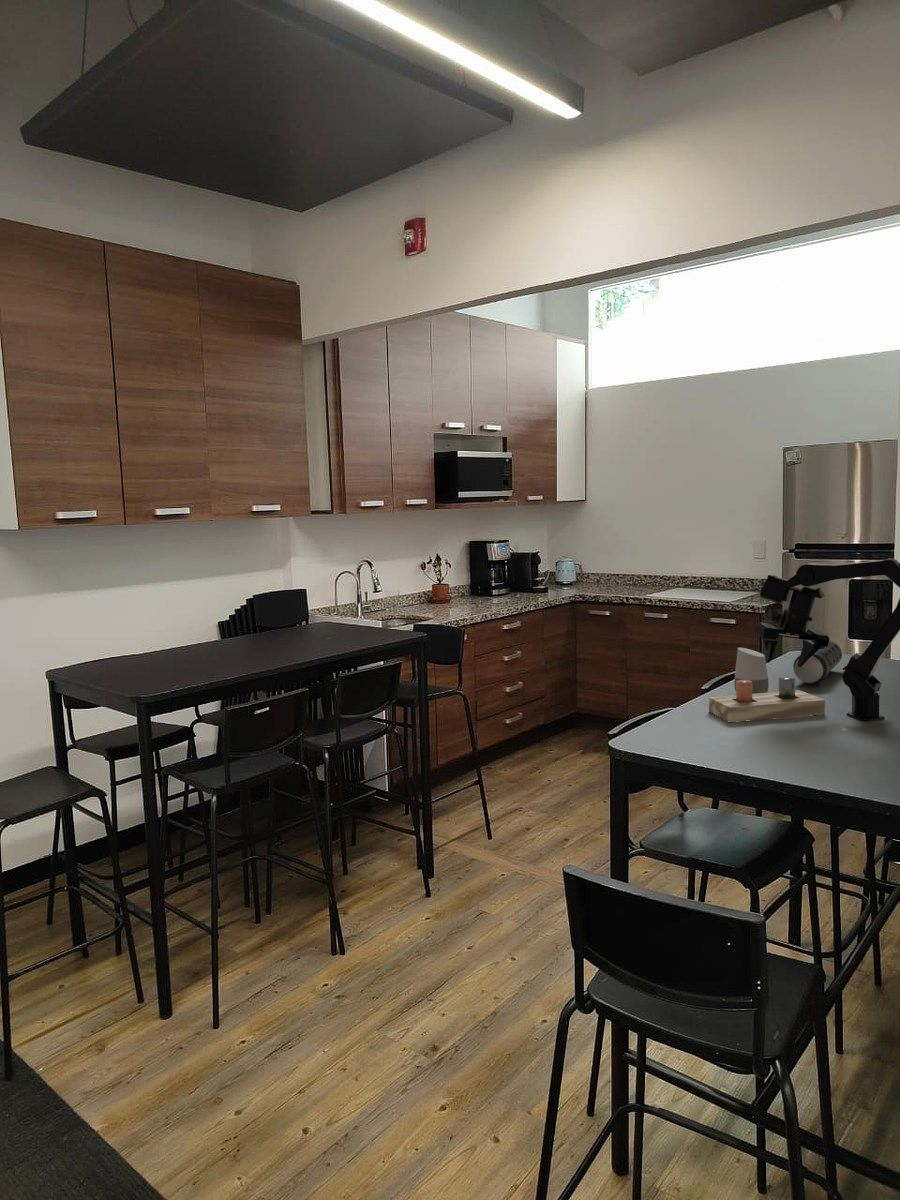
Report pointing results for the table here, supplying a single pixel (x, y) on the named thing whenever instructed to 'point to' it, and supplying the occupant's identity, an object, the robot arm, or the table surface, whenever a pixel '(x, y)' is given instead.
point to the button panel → (766, 706)
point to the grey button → (786, 688)
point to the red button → (743, 691)
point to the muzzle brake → (818, 664)
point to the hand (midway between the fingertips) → (783, 664)
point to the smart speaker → (752, 669)
